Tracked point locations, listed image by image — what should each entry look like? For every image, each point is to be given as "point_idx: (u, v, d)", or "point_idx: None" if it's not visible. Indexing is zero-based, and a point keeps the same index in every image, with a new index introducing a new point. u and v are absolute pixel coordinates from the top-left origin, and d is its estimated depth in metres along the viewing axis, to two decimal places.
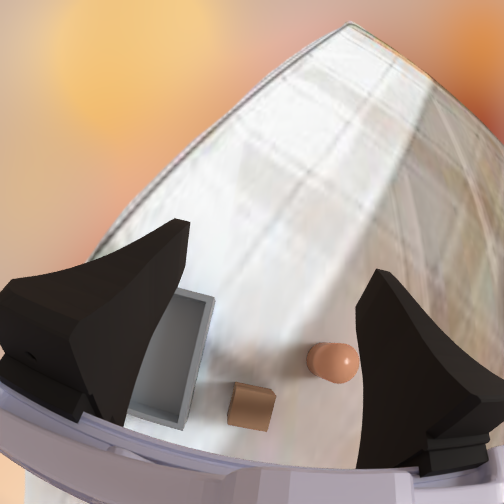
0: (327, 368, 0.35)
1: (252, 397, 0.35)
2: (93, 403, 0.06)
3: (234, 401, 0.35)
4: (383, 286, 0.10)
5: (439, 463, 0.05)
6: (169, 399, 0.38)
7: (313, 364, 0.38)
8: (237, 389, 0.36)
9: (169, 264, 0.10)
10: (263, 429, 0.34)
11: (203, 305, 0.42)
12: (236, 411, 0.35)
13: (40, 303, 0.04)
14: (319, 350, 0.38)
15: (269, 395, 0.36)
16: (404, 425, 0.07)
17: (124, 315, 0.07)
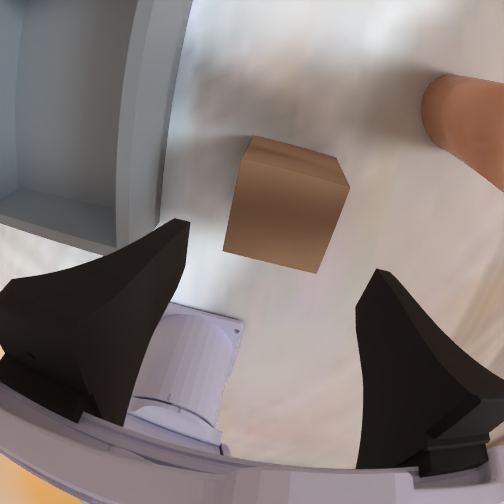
0: (495, 145, 0.09)
1: (286, 185, 0.14)
2: (93, 403, 0.06)
3: (237, 195, 0.14)
4: (383, 286, 0.10)
5: (439, 463, 0.05)
6: None
7: (447, 119, 0.12)
8: (244, 163, 0.13)
9: (169, 264, 0.10)
10: (308, 268, 0.16)
11: None
12: (242, 220, 0.15)
13: (40, 303, 0.04)
14: (467, 88, 0.10)
15: (332, 185, 0.14)
16: (404, 425, 0.07)
17: (124, 314, 0.07)
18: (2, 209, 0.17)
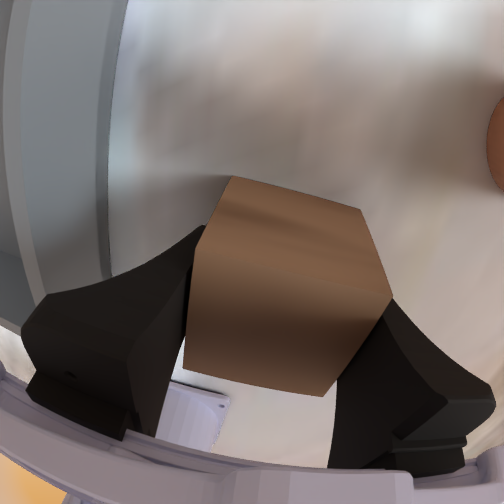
0: None
1: (280, 295, 0.08)
2: (136, 419, 0.06)
3: (194, 304, 0.08)
4: None
5: (407, 466, 0.05)
6: None
7: None
8: (201, 256, 0.07)
9: None
10: (311, 392, 0.10)
11: None
12: (206, 337, 0.09)
13: (87, 322, 0.04)
14: None
15: (362, 293, 0.07)
16: (371, 424, 0.06)
17: (165, 327, 0.07)
18: None
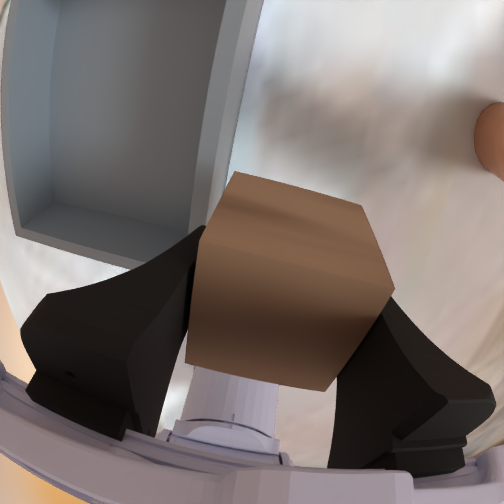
0: None
1: (283, 287, 0.08)
2: (136, 419, 0.06)
3: (197, 297, 0.08)
4: None
5: (406, 466, 0.05)
6: (174, 203, 0.19)
7: None
8: (204, 248, 0.07)
9: None
10: (313, 386, 0.10)
11: None
12: (209, 330, 0.09)
13: (86, 321, 0.04)
14: None
15: (364, 285, 0.07)
16: (371, 424, 0.06)
17: (165, 327, 0.07)
18: (39, 226, 0.17)
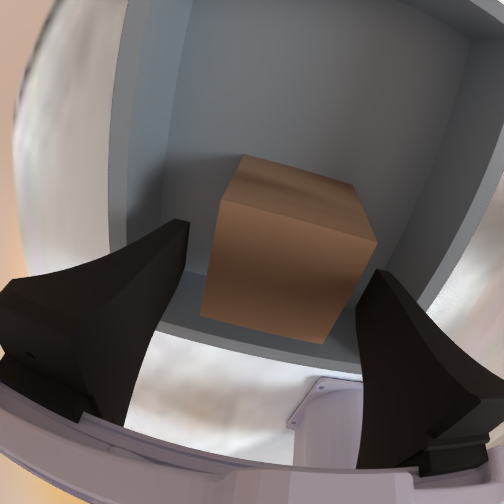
0: None
1: (287, 239, 0.10)
2: (93, 403, 0.06)
3: (215, 249, 0.10)
4: (383, 286, 0.10)
5: (439, 463, 0.05)
6: None
7: None
8: (225, 206, 0.09)
9: (169, 264, 0.10)
10: (312, 338, 0.12)
11: (461, 38, 0.09)
12: (224, 281, 0.11)
13: (39, 303, 0.04)
14: None
15: (352, 239, 0.09)
16: (404, 425, 0.06)
17: (124, 315, 0.07)
18: None
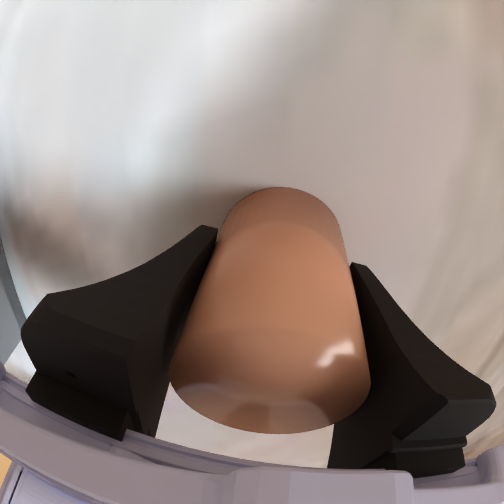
0: (202, 396, 0.08)
1: None
2: (135, 419, 0.06)
3: None
4: (357, 280, 0.10)
5: (407, 466, 0.05)
6: None
7: None
8: None
9: (200, 272, 0.10)
10: None
11: None
12: None
13: (86, 322, 0.04)
14: (209, 270, 0.09)
15: None
16: (371, 424, 0.06)
17: (165, 327, 0.07)
18: None
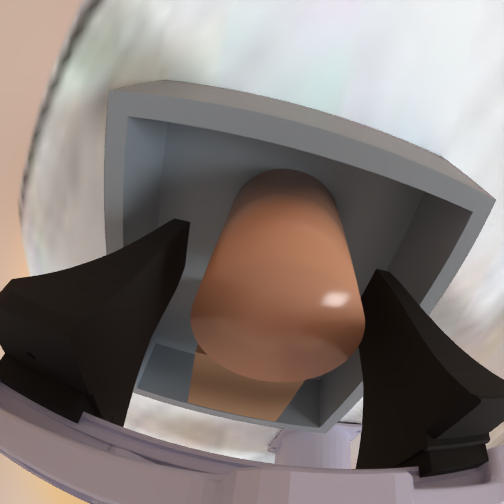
0: (218, 340, 0.09)
1: None
2: (93, 403, 0.06)
3: (195, 374, 0.14)
4: (383, 286, 0.10)
5: (439, 463, 0.05)
6: None
7: None
8: (198, 355, 0.13)
9: (169, 264, 0.10)
10: (267, 418, 0.16)
11: None
12: (202, 388, 0.14)
13: (39, 303, 0.04)
14: (225, 232, 0.10)
15: None
16: (404, 425, 0.06)
17: (124, 315, 0.07)
18: (158, 386, 0.18)
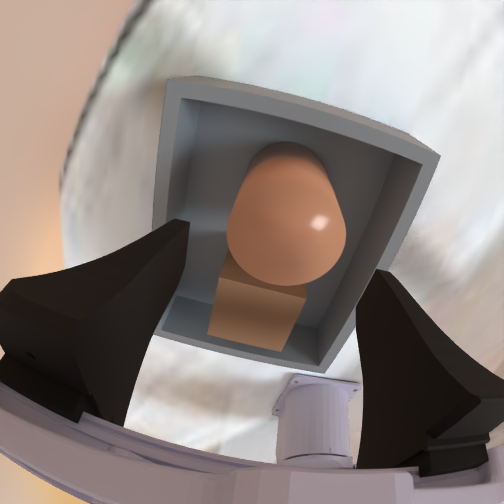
0: (245, 247, 0.13)
1: (255, 296, 0.18)
2: (93, 403, 0.06)
3: (216, 300, 0.18)
4: (383, 286, 0.10)
5: (439, 463, 0.05)
6: None
7: None
8: (221, 280, 0.17)
9: (169, 264, 0.10)
10: (274, 348, 0.20)
11: None
12: (221, 316, 0.19)
13: (40, 303, 0.04)
14: (247, 178, 0.15)
15: (291, 297, 0.17)
16: (404, 425, 0.06)
17: (124, 315, 0.07)
18: (180, 328, 0.23)
